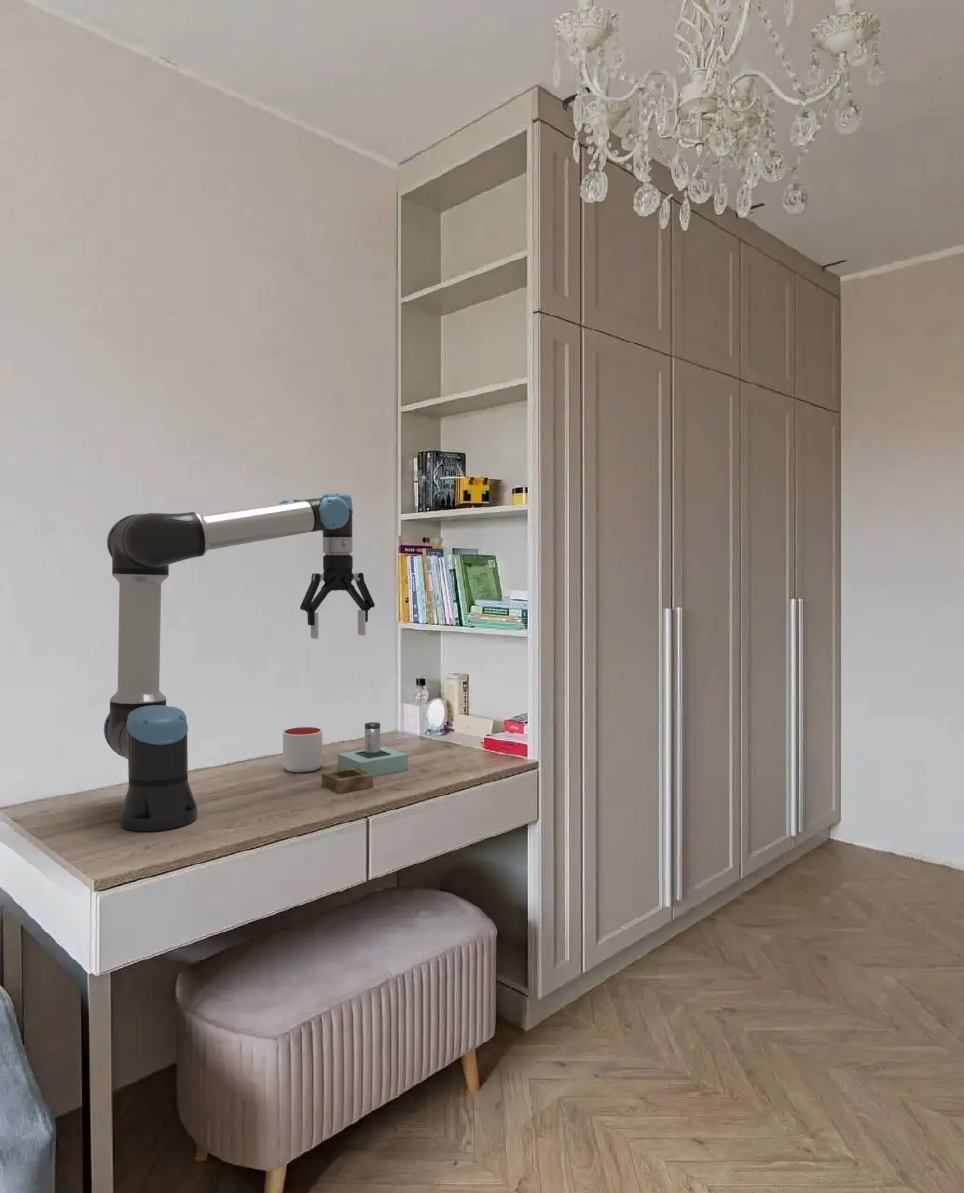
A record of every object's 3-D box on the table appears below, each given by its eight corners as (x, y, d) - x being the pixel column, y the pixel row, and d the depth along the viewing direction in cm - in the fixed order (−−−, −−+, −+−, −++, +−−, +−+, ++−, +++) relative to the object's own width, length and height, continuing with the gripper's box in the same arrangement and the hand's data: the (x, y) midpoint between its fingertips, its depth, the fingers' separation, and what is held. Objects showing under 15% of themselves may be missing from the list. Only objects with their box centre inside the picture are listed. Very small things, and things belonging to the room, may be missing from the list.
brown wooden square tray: (339, 793, 197) (339, 780, 196) (321, 785, 204) (321, 773, 204) (373, 787, 202) (372, 774, 202) (354, 779, 209) (354, 767, 209)
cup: (327, 764, 224) (326, 727, 224) (315, 774, 214) (315, 735, 214) (290, 763, 225) (290, 726, 225) (277, 773, 215) (277, 734, 215)
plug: (370, 772, 216) (369, 726, 215) (362, 769, 219) (361, 723, 218) (383, 769, 218) (383, 724, 218) (375, 766, 222) (375, 721, 221)
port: (360, 778, 210) (360, 761, 209) (337, 768, 219) (337, 752, 219) (408, 769, 218) (408, 753, 218) (384, 760, 228) (383, 745, 228)
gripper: (299, 554, 205) (300, 640, 206) (387, 554, 220) (387, 634, 221) (286, 554, 211) (287, 638, 212) (372, 554, 226) (373, 632, 227)
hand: (338, 636), depth 217 cm, fingers open, 13 cm apart
